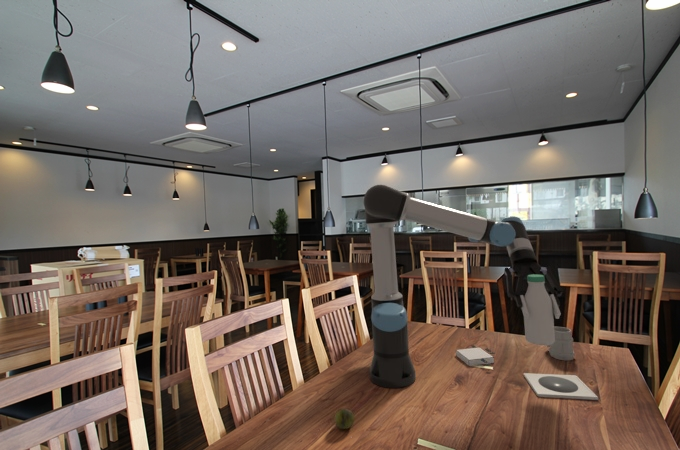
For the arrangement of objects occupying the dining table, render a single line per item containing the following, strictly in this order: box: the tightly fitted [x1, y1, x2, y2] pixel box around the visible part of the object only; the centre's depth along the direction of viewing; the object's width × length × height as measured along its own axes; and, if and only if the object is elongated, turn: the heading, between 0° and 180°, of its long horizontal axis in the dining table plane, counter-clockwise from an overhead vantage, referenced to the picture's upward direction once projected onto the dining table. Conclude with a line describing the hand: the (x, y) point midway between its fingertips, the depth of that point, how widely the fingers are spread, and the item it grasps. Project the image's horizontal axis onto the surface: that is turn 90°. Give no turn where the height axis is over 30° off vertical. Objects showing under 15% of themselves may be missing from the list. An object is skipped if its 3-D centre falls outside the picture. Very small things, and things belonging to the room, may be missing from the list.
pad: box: [523, 372, 599, 401], centre depth 101 cm, size 15×13×1 cm
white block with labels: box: [455, 344, 496, 367], centre depth 123 cm, size 20×12×3 cm, turn 8°
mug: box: [546, 326, 576, 362], centre depth 123 cm, size 8×12×12 cm, turn 8°
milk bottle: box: [523, 274, 555, 346], centre depth 102 cm, size 8×8×20 cm
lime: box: [334, 408, 355, 430], centre depth 86 cm, size 4×5×5 cm
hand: (542, 316), depth 98 cm, fingers closed on milk bottle, 8 cm apart
